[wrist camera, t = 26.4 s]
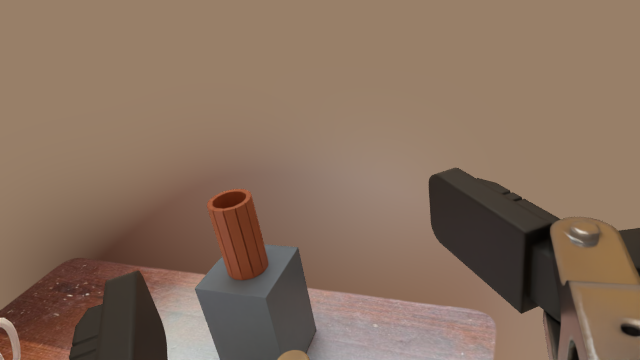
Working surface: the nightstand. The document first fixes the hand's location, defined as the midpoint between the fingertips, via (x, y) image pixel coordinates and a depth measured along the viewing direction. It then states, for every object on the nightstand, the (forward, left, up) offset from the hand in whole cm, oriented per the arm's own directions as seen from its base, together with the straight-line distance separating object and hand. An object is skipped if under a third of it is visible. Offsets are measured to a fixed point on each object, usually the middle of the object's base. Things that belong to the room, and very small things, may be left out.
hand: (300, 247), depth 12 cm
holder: (+19, -22, -32) cm, 44 cm away
